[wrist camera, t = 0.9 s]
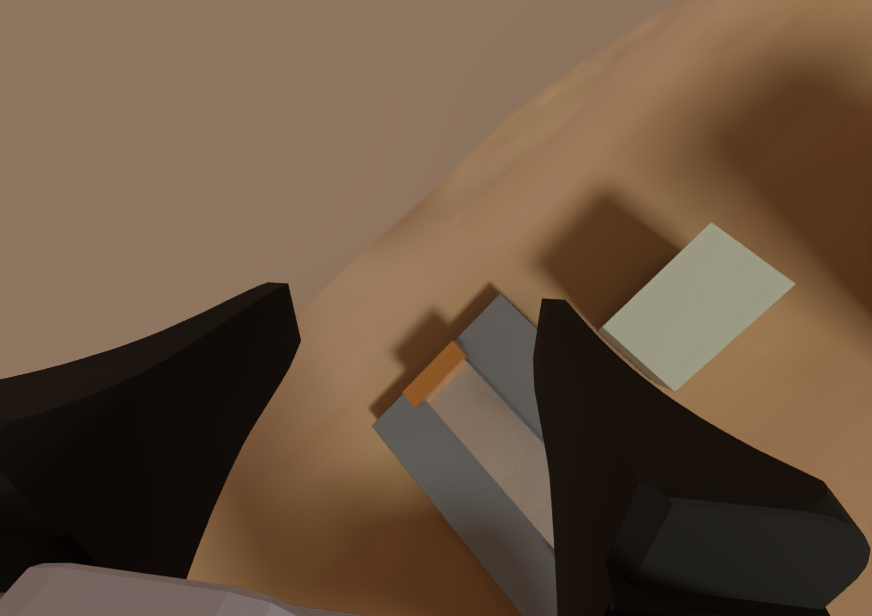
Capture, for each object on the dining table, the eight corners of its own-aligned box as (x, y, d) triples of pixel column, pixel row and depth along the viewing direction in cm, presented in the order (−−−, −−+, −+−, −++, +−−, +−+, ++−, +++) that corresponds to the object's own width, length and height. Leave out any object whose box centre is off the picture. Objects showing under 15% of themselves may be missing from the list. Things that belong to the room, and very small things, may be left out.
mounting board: (704, 489, 22) (711, 497, 21) (541, 624, 24) (539, 638, 23) (503, 296, 26) (500, 293, 25) (379, 423, 28) (371, 425, 27)
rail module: (744, 299, 22) (795, 283, 17) (652, 381, 23) (674, 391, 18) (681, 250, 23) (711, 222, 18) (597, 331, 24) (602, 326, 19)
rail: (648, 539, 21) (655, 556, 20) (586, 591, 22) (587, 611, 20) (460, 341, 26) (452, 340, 24) (413, 389, 26) (401, 392, 25)
